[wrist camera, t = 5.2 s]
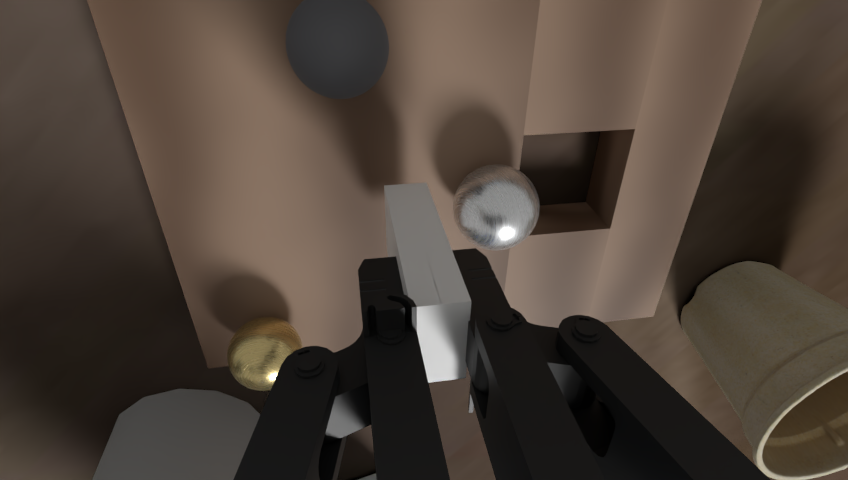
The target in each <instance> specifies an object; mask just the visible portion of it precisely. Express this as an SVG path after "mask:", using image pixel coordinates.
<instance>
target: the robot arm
mask: <svg viewBox="0 0 848 480" xmlns="http://www.w3.org/2000/svg"><path fill="white" fill-rule="evenodd" d="M384 191H385V215H386V238H387V253H388V257H384V258H372V259H364V260H363V262H362V263H361V265H360V267H359V269H358V277H359V289H360V301H361V313H362V324H363V329H362V333H361V335H360V337H359V338H358V339H357V340H356V341H355V342H354V343H353V344H351V345H350V346H348V347H346V348H344V349H342V350H340V351H337V352H332V351H331V350H329V349H327V348H325V347H320V346H307V347H303V348H301V349H298V350H295V351H294V352H293V353H291V354H290V355H288V356H287V357H286V359H285V360H284V362H283V363H282V364H281V367H280V369H279V372H278V374H277V376H276V379H275V381H274V384H273V386H272V388H271V391H270V393H269V396H268V398H267V400H266V403H265V405H264V408H263V410H262V412H261V415H260V417H259V419H258V422H257V424H256V427H255V429H254V431H253V434H252V436H251V439H250V441H249V443H248V446H247V448H246V451H245V453H244V455H243V458H242V460H241V463H240V465H239V467H238V470H237V472H236V475H235V477H234V479H233V480H337V478H338V474H339V469H340V465H341V461H342V456H343V452H344V448H345V444H346V439H347V435H349V434H351V433H353V432H355V431H358V430H360V429H362V428H364V427H366V426H368V425H372V436H373V447H374V458H375V469H376V480H450V478H449V473H448V469H447V465H446V460H445V456H444V451H443V447H442V442H441V438H440V433H439V429H438V424H437V420H436V415H435V411H434V406H433V402H432V397H431V393H430V388H429V384H428V383H430V382H438V381H445V380H453V379H461V378H466V367H468V370H469V374H470V377H471V382H470V394H469V413H471V412H473V405H474V408H475V411H476V414H477V418H478V421H479V424H480V428H481V431H482V434H483V438H484V441H485V444H486V448H487V451H488V454H489V458H490V461H491V464H492V468H493V471H494V474H495V478H496V480H770V479H769V478H768V477H767V476H766V475H765V474H764V473H763V472H762V471H761V470H760V469H759V468H758V467H756V466H755V465H754V464H753V463H752V462H751V461H750V460H749V459H748V458H747V457H746V456H745V455H744V454H743V453H742V452H741V451H739V450H738V449H737V448H736V447H735V446H734V445H733V444H732V443H731V442H730V441H729V440H728V439H727V438H726V437H725V436H724V435H722V434H721V433H720V432H719V431H718V430H717V429H716V428H715V427H714V426H713V425H712V424H711V423H710V422H709V421H708V420H707V419H705V418H704V417H703V416H702V415H701V414H700V413H699V412H698V411H697V410H696V409H695V408H694V407H693V406H692V405H691V404H690V403H688V402H687V401H686V400H685V399H684V398H683V397H682V396H681V395H680V394H679V393H678V392H677V391H676V390H675V389H674V388H673V387H671V386H670V385H669V384H668V383H667V382H666V381H665V380H664V379H663V378H662V377H661V376H660V375H659V374H658V373H657V372H656V371H654V370H653V369H652V368H651V367H650V366H649V365H648V364H647V363H646V362H645V361H644V360H643V359H642V358H641V357H640V356H639V355H637V354H636V353H635V352H634V351H633V350H632V349H631V348H630V347H629V346H628V345H627V344H626V343H625V342H624V341H623V340H622V339H620V338H619V337H618V336H617V335H616V334H615V333H614V332H613V331H612V330H611V329H610V328H609V327H608V326H607V325H605V324H604V323H602V322H601V321H600V320H598V319H595V318H592V317H590V316H584V315H573V316H569V317H567V318H565V319H563V320H562V321H561V323H560V325H559V328H556V327H548V326H540V325H536V324H532V323H529V322H527V321H526V319H525V318H524V316H523V315H522V314H521V313H520V312H518V311H517V310H515V309H513V308H511V307H510V305H509V303H508V301H507V299H506V297H505V294H504V292H503V290H502V288H501V286H500V284H499V282H498V280H497V278H496V275H495V273H494V271H493V269H492V267H491V265H490V263H489V261H488V259H487V257H486V256H485V255H484V254H483V253H481V252H480V251H479V250H478V249H476V248H472V249H461V250H452V249H451V246H450V243H449V241H448V238H447V235H446V233H445V230H444V228H443V225H442V222H441V220H440V217H439V214H438V212H437V209H436V206H435V204H434V201H433V199H432V196H431V193H430V191H429V188H428V185H427V183H413V184H399V185H384Z"/></svg>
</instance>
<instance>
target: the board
mask: <svg viewBox="0 0 848 480" xmlns="http://www.w3.org/2000/svg"><path fill="white" fill-rule="evenodd" d="M302 1H304V0H87V2H88V5H89V8H90V11H91V14H92V17H93V20H94V23H95V26H96V29H97V32H98V35H99V38H100V41H101V44H102V47H103V50H104V54H105V57H106V60H107V63H108V66H109V69H110V72H111V75H112V78H113V81H114V84H115V87H116V90H117V93H118V96H119V99H120V102H121V105H122V108H123V111H124V114H125V117H126V120H127V123H128V126H129V129H130V132H131V136H132V139H133V142H134V145H135V148H136V151H137V154H138V157H139V160H140V163H141V166H142V169H143V172H144V175H145V178H146V181H147V184H148V187H149V190H150V193H151V196H152V199H153V202H154V205H155V208H156V211H157V215H158V218H159V221H160V224H161V227H162V230H163V233H164V236H165V239H166V242H167V245H168V248H169V251H170V254H171V257H172V260H173V263H174V266H175V269H176V272H177V275H178V278H179V281H180V284H181V287H182V290H183V293H184V297H185V300H186V303H187V306H188V309H189V312H190V315H191V318H192V321H193V324H194V327H195V330H196V333H197V336H198V339H199V342H200V345H201V348H202V351H203V354H204V357H205V360H206V363H207V366H208V368H217V367H225V366H228V362H227V351H228V346H229V343H230V341H231V339H232V337H233V335H234V334H235V333H236V331H237V330H238V329H239V328H240V327H241V326H243V325H244V324H245V323H247V322H249V321H251V320H253V319H256V318H259V317H276V318H279V319H282V320H284V321H286V322H288V323H289V324H290V325H292V326H293V327H294V328H295V330H296V331H297V332H298V334H299V336H300V338H301V341H302V345H303V347H307V346H320V347H325V348H327V349H329V350H331V351H332V352H337V351H340V350H342V349H344V348H346V347H348V346H350V345H351V344H353V343H354V342H355V341H356V340H357V339H358V338H359V337H360V335H361V333H362V329H363V324H362V313H361V301H360V289H359V277H358V269H359V267H360V265H361V263H362V262H363V260H364V259H372V258H384V257H388V253H387V238H386V215H385V191H384V185H399V184H413V183H427V185H428V188H429V191H430V193H431V196H432V199H433V201H434V204H435V206H436V209H437V212H438V214H439V217H440V220H441V222H442V225H443V228H444V230H445V233H446V235H447V238H448V241H449V243H450V246H451V249H452V250H461V249H472V248H476V249H478V250H479V251H480V252H481V253H483V254H484V255H485V256H486V257H487V259H488V261H489V263H490V265H491V267H492V269H493V271H494V273H495V275H496V278H497V280H498V282H499V284H500V286H501V288H502V290H503V292H504V294H505V297H506V299H507V301H508V303H509V305H510V307H511V308H513V309H515V310H517V311H518V312H520V313H521V314H522V315H523V316H524V318H525V319H526V321H527V322H529V323H532V324H536V325H540V326H548V327H556V328H558V327H559V325H560V323H561V321H562V320H563V319H565V318H567V317H569V316H573V315H584V316H590V317H592V318H595V319H598V320H600V321H601V322H610V321H618V320H627V319H635V318H644V317H652V316H654V313H655V310H656V307H657V305H658V302H659V299H660V296H661V293H662V290H663V287H664V284H665V281H666V278H667V275H668V273H669V270H670V267H671V264H672V261H673V258H674V255H675V252H676V249H677V246H678V244H679V241H680V238H681V235H682V232H683V229H684V226H685V223H686V220H687V217H688V214H689V212H690V209H691V206H692V203H693V200H694V197H695V194H696V191H697V188H698V185H699V183H700V180H701V177H702V174H703V171H704V168H705V165H706V162H707V159H708V156H709V153H710V151H711V148H712V145H713V142H714V139H715V136H716V133H717V130H718V127H719V124H720V122H721V119H722V116H723V113H724V110H725V107H726V104H727V101H728V98H729V95H730V92H731V90H732V87H733V84H734V81H735V78H736V75H737V72H738V69H739V66H740V63H741V61H742V58H743V55H744V52H745V49H746V46H747V43H748V40H749V37H750V34H751V31H752V29H753V26H754V23H755V20H756V17H757V14H758V11H759V8H760V5H761V2H762V0H366V1H367V2H368V3H369V4H370V5H372V6H373V8H374V9H375V10H376V11H377V12H378V14H379V15H380V17H381V19H382V21H383V23H384V25H385V28H386V31H387V35H388V40H389V56H388V61H387V64H386V67H385V70H384V72H383V74H382V76H381V77H380V79H379V80H378V81H377V83H376V84H375V85H374V86H373V87H372V88H370V89H369V90H368V91H366V92H365V93H363V94H361V95H359V96H356V97H353V98H348V99H333V98H328V97H325V96H322V95H320V94H317V93H316V92H314V91H312V90H311V89H309V88H308V87H307V86H306V85H305V84H304V83H303V82H302V81H301V80H300V79H299V78H298V77H297V75H296V74H295V72H294V70H293V69H292V67H291V65H290V62H289V59H288V56H287V51H286V30H287V26H288V23H289V20H290V18H291V16H292V14H293V12H294V11H295V9H296V8H297V7H298V6H299V4H300V3H301V2H302ZM592 131H601V132H600V136H599V141H598V146H597V151H596V155H595V160H594V165H593V170H592V174H591V179H590V184H589V189H588V193H587V198H586V202H578V203H566V204H553V205H540V210H539V217H538V220H537V223H536V226H535V227H534V229H533V231H532V232H531V234H530V235H529V236H528V237H527V238H526V239H525V240H524V241H522V242H521V243H520V244H518V245H516V246H514V247H512V248H509V249H505V250H486V249H483V248H480V247H478V246H476V245H474V244H472V243H471V242H469V241H468V240H467V239H466V238H465V237H464V236H463V235H462V234H461V232H460V231H459V229H458V227H457V225H456V223H455V219H454V215H453V200H454V196H455V193H456V191H457V189H458V187H459V185H460V183H461V182H462V181H463V180H464V178H465V177H466V176H468V175H469V174H470V173H471V172H473V171H475V170H476V169H478V168H481V167H483V166H487V165H494V164H499V165H506V166H510V167H513V168H515V169H517V170H519V169H520V161H521V153H522V144H523V136H524V135H539V134H556V133H574V132H592Z"/></svg>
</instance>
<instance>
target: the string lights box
mask: <svg viewBox="0 0 848 480" xmlns="http://www.w3.org/2000/svg"><path fill="white" fill-rule="evenodd" d="M357 480H376V473H375V474H372V475H369V476H366V477H363V478H360V479H357Z"/></svg>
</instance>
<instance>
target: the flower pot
mask: <svg viewBox="0 0 848 480" xmlns="http://www.w3.org/2000/svg"><path fill="white" fill-rule="evenodd" d="M681 326H682V329H683V332H684V333H685V335H686V336H687V337H688V339H689V340H690V342H691V343H692V345H693V346H694V348H695V349H696V351H697V352H698V354H699V355H700V357H701V358H702V360H703V361H704V363H705V365H706V366H707V368H708V369H709V371H710V372H711V374H712V376H713V377H714V379H715V380H716V382H717V383H718V385H719V386H720V388H721V390H722V391H723V393H724V394H725V396H726V397H727V399H728V401H729V402H730V404H731V405H732V407H733V408H734V410H735V412H736V413H737V415H738V416H739V418H740V420H741V421H742V427H743V431H744V434H745V436H746V438H747V439H748V441H749V442H750V444H751V446H752V447H753V452H752V454H753V459H754V462H755V464H756V466H757V467H758V468H759V469H760V470H761V471H762V472H763V473H764V474H765V475H766V476H768V477H770V478H773V479H777V480H806V479H812V478H816V477H820V476H825V475H828V474H831V473H833V472H837V471H839V470H843V469H846V468H847V467H848V309H847V308H845V307H844V306H842V305H840V304H838V303H836V302H835V301H833V300H831V299H829V298H827V297H826V296H824V295H822V294H820V293H819V292H817V291H815V290H813V289H811V288H810V287H808V286H806V285H804V284H803V283H801V282H799V281H797V280H796V279H794V278H792V277H790V276H789V275H787V274H785V273H784V272H782V271H780V270H779V269H777V268H776V267H774V266H772V265H770V264H765V263H760V262H754V261H744V262H739V263H735V264H732V265H730V266H727V267H725V268H723V269H721V270H719V271H718V272H716V273H714V274H712V275H711V276H709V277H708V278H707V279H705V280H704V281H703V282H702V283H701V284H699V285H698V287H697V289H696V292H695V295H694V297H693V298H692V300H691V301H690V302H689V303H688V304H686V305H684V307H683V309H682V313H681Z"/></svg>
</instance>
